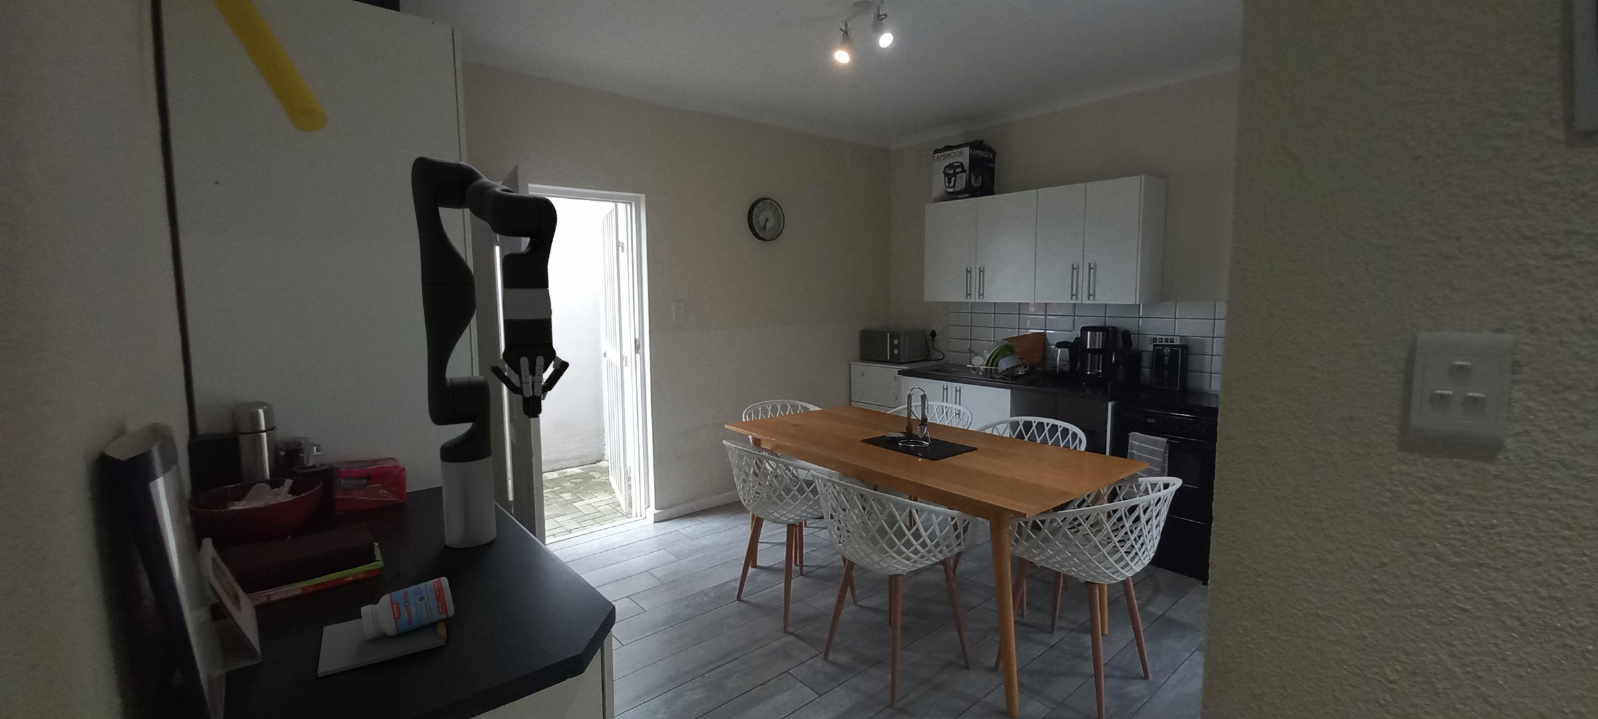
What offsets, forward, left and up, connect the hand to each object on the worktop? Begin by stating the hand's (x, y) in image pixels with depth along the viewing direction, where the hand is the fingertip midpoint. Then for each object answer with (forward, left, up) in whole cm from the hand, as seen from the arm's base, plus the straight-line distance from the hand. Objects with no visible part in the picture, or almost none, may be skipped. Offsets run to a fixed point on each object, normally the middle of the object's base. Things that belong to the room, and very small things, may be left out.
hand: (532, 417), depth 114 cm
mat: (+8, -24, -29) cm, 38 cm away
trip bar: (+8, -16, -29) cm, 34 cm away
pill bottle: (+9, -14, -24) cm, 30 cm away
